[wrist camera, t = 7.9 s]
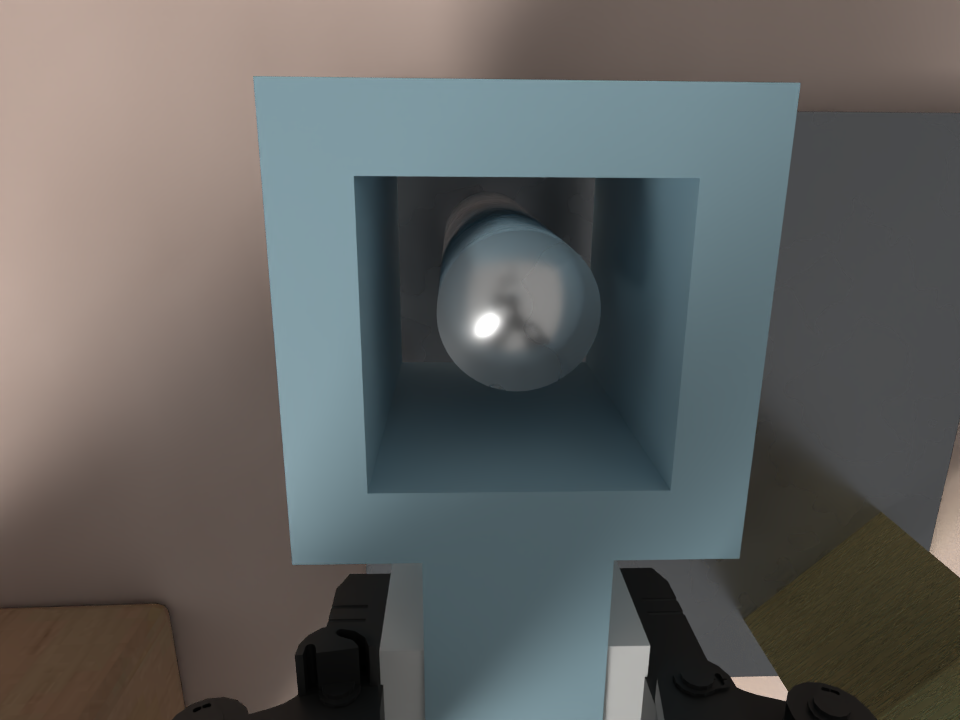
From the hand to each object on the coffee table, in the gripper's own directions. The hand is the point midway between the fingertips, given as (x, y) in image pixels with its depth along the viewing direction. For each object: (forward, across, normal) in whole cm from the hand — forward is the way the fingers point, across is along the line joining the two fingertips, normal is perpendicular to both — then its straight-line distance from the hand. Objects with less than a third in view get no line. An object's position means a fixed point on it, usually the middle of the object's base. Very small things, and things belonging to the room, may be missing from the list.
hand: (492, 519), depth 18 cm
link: (0, 0, +1) cm, 1 cm away
